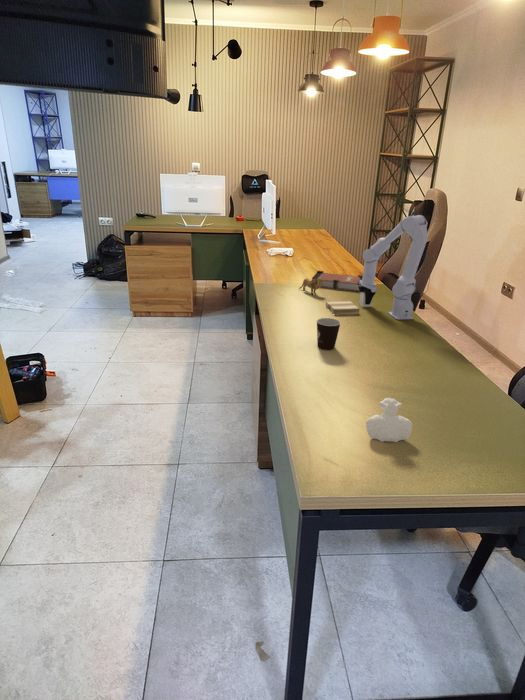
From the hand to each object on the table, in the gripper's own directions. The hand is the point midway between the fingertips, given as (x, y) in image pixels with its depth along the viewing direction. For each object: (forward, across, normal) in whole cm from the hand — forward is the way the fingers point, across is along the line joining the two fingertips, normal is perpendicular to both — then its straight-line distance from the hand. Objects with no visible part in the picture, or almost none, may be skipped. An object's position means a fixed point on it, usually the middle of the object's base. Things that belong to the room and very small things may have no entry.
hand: (365, 302), depth 228 cm
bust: (+2, -106, +43) cm, 114 cm away
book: (+2, +36, 0) cm, 36 cm away
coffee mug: (+2, -45, +37) cm, 58 cm away
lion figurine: (+2, +24, +20) cm, 31 cm away
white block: (+1, 0, 0) cm, 1 cm away
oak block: (+2, -6, +14) cm, 15 cm away
